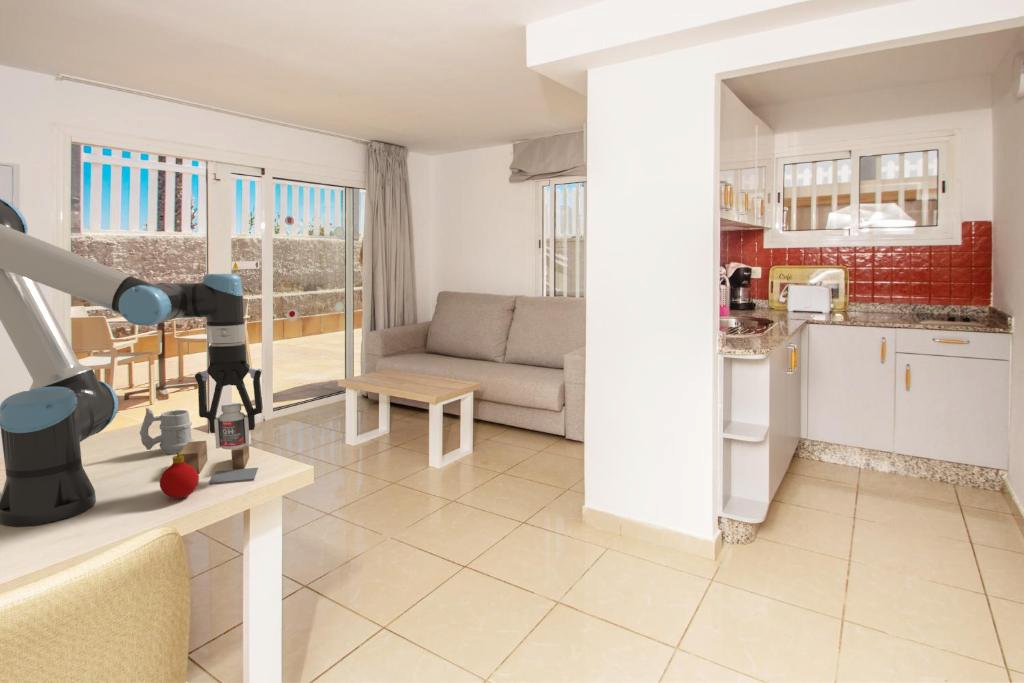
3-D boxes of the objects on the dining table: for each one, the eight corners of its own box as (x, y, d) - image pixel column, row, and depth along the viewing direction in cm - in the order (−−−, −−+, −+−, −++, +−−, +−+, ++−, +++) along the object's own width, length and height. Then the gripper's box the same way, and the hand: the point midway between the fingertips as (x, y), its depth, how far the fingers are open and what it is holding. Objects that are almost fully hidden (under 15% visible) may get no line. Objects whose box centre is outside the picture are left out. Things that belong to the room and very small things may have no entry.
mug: (196, 451, 154) (193, 405, 152) (142, 459, 147) (138, 412, 145) (192, 443, 160) (189, 400, 158) (140, 451, 153) (137, 405, 151)
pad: (209, 484, 131) (209, 482, 130) (215, 472, 138) (215, 471, 138) (254, 480, 133) (254, 478, 133) (257, 469, 140) (257, 467, 140)
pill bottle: (222, 451, 131) (219, 408, 130) (219, 445, 135) (216, 403, 134) (249, 447, 134) (246, 405, 132) (244, 441, 138) (242, 400, 137)
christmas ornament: (202, 498, 123) (199, 452, 121) (162, 506, 119) (159, 458, 117) (197, 488, 128) (194, 443, 127) (159, 495, 124) (155, 449, 123)
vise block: (179, 475, 136) (178, 454, 135) (189, 461, 145) (188, 441, 145) (244, 470, 140) (243, 449, 139) (249, 456, 149) (248, 437, 148)
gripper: (176, 347, 125) (184, 454, 128) (270, 344, 131) (276, 446, 134) (184, 343, 132) (192, 444, 135) (273, 339, 138) (278, 437, 141)
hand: (233, 445), depth 135 cm, fingers closed on pill bottle, 5 cm apart
